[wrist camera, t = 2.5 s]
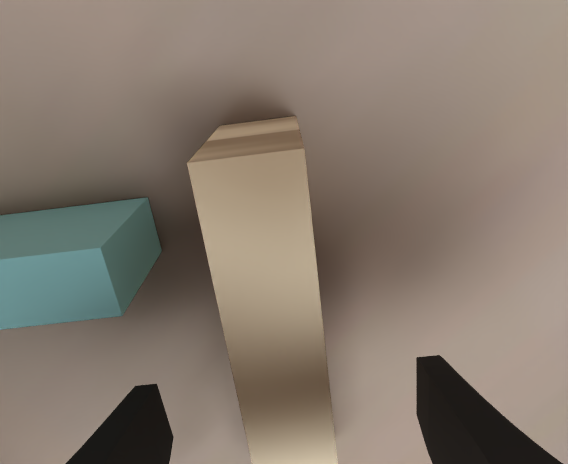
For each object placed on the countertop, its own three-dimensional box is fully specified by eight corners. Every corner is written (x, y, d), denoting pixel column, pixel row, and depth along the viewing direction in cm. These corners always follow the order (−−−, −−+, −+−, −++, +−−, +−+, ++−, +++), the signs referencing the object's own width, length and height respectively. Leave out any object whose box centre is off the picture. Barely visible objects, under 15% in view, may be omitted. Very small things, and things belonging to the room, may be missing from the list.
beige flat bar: (331, 441, 18) (349, 570, 14) (277, 447, 18) (276, 576, 14) (295, 116, 13) (304, 148, 8) (219, 125, 13) (186, 163, 8)
